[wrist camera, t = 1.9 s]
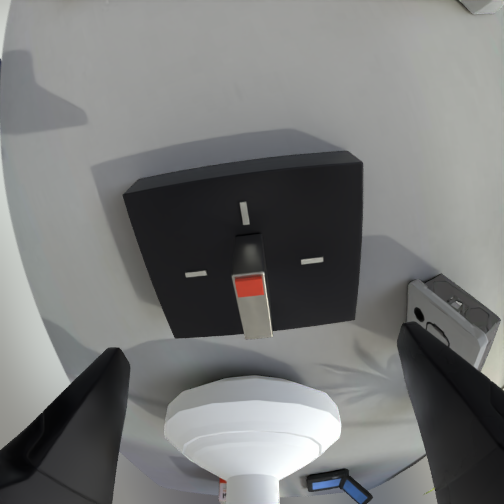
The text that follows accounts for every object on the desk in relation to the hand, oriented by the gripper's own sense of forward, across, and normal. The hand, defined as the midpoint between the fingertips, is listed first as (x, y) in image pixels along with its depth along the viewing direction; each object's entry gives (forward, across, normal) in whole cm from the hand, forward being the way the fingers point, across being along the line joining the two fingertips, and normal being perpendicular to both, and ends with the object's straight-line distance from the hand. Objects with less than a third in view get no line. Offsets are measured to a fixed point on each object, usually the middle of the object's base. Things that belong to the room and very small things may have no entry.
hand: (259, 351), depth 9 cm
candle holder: (+13, +3, +26) cm, 29 cm away
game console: (+13, -11, +68) cm, 71 cm away
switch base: (+13, +1, +4) cm, 14 cm away
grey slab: (+10, +1, +4) cm, 11 cm away
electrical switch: (+13, -16, +12) cm, 24 cm away
